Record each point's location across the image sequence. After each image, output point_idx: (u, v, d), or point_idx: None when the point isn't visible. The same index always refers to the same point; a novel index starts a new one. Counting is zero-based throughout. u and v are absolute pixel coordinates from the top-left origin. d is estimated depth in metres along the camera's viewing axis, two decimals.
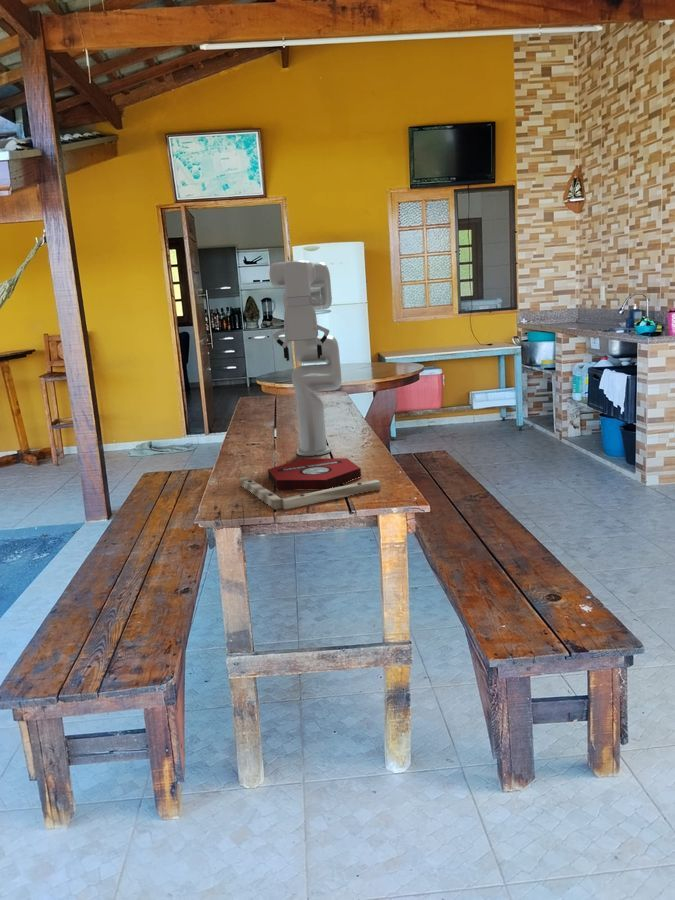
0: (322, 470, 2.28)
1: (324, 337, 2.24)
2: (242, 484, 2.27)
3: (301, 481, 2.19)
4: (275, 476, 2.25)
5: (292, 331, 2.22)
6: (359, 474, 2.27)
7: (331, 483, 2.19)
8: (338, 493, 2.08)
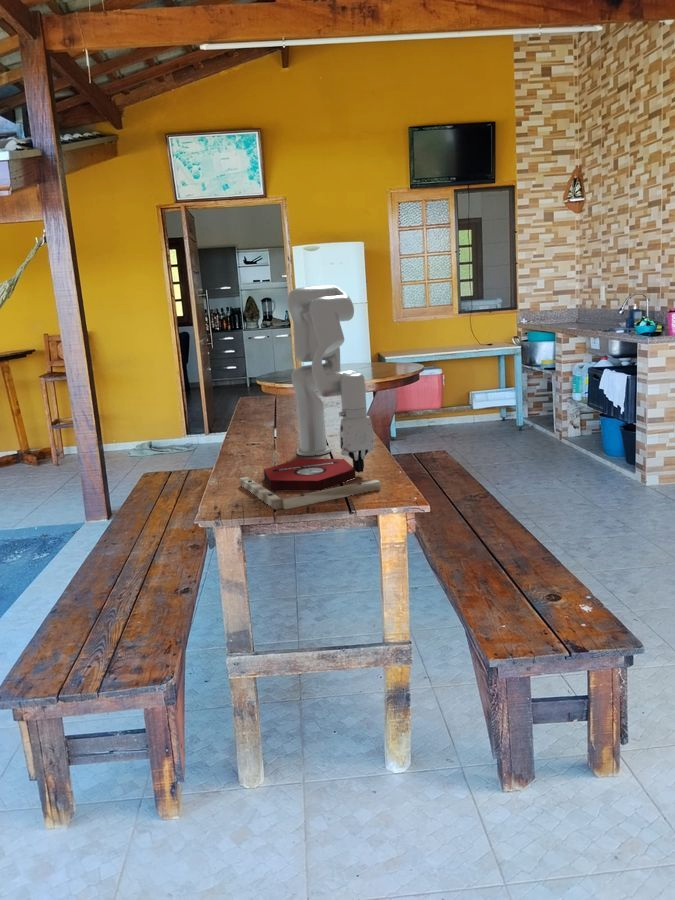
0: (317, 471, 2.28)
1: None
2: (242, 484, 2.27)
3: (294, 481, 2.19)
4: (269, 476, 2.25)
5: None
6: (353, 475, 2.26)
7: (324, 483, 2.18)
8: (338, 493, 2.08)
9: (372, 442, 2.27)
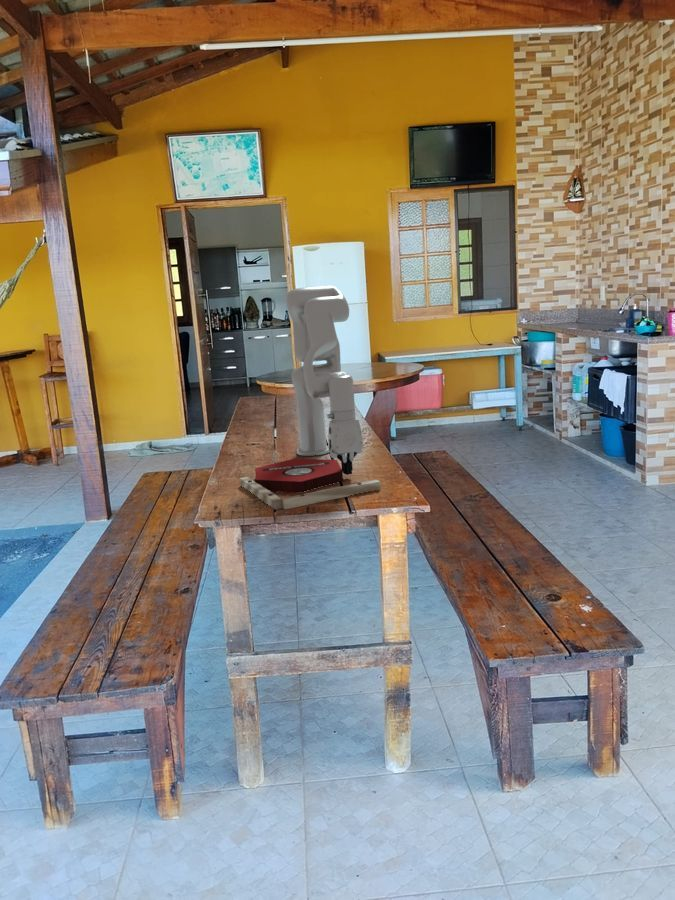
0: (304, 471, 2.27)
1: None
2: (242, 484, 2.27)
3: (278, 482, 2.19)
4: (257, 475, 2.26)
5: None
6: (341, 477, 2.25)
7: (308, 484, 2.18)
8: (338, 493, 2.08)
9: (361, 444, 2.25)
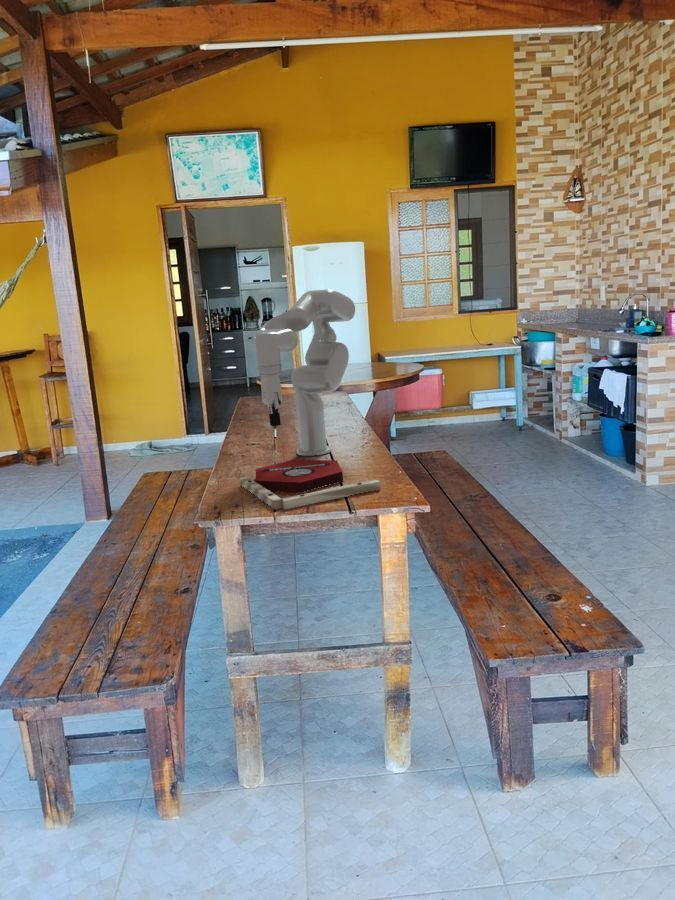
0: (304, 472, 2.27)
1: None
2: (242, 484, 2.27)
3: (278, 482, 2.19)
4: (257, 476, 2.26)
5: None
6: (341, 478, 2.25)
7: (308, 485, 2.18)
8: (338, 493, 2.08)
9: (267, 401, 2.37)
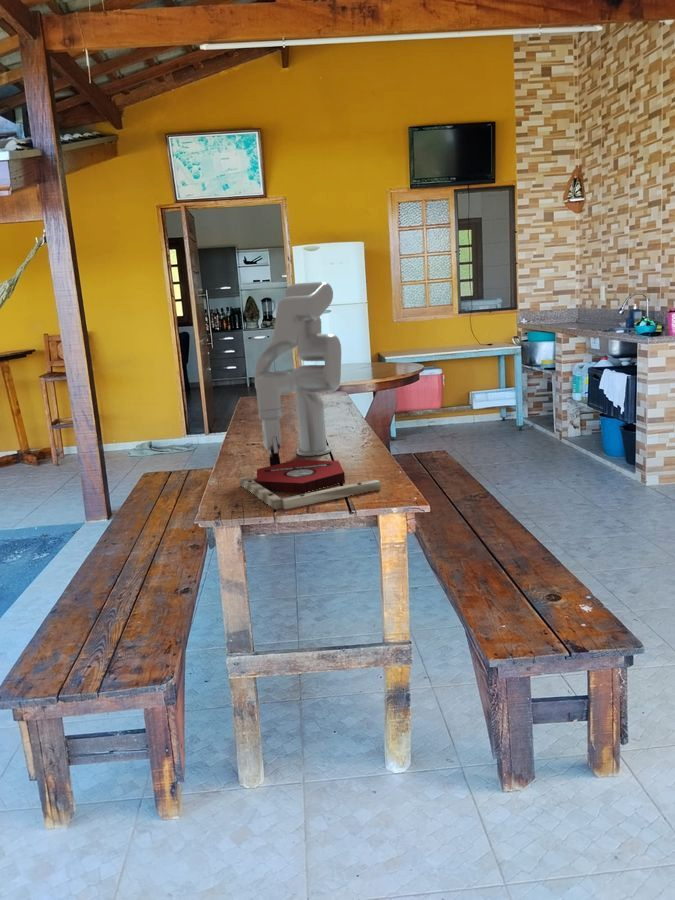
0: (306, 473, 2.26)
1: None
2: (242, 484, 2.27)
3: (280, 483, 2.18)
4: (258, 477, 2.25)
5: None
6: (342, 478, 2.24)
7: (309, 486, 2.17)
8: (338, 493, 2.08)
9: (266, 445, 2.35)
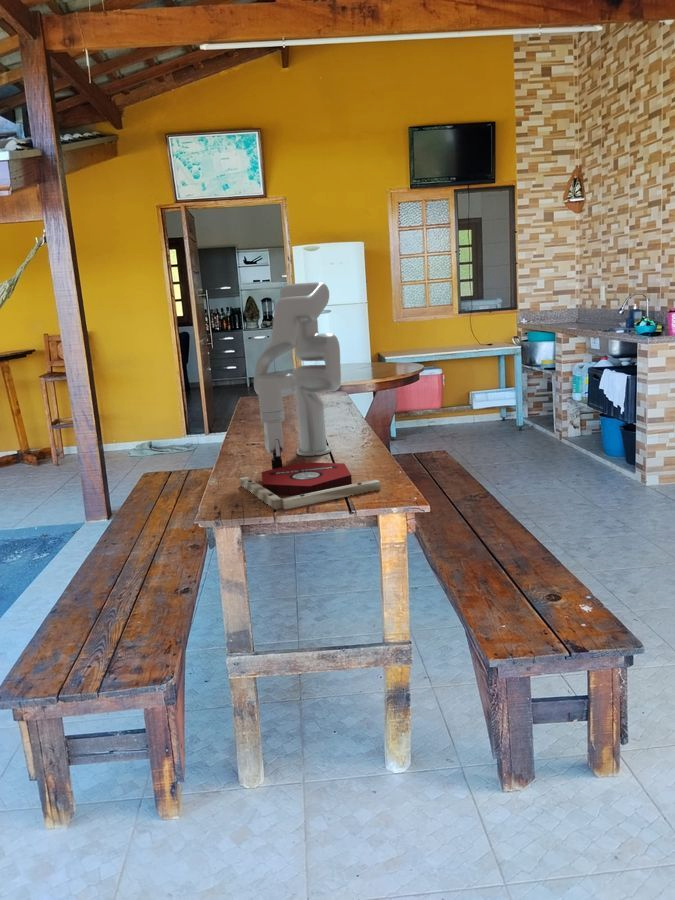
0: (312, 475, 2.22)
1: None
2: (242, 484, 2.27)
3: (286, 486, 2.14)
4: (264, 480, 2.22)
5: None
6: (349, 481, 2.20)
7: (317, 489, 2.13)
8: (338, 493, 2.08)
9: (268, 448, 2.31)
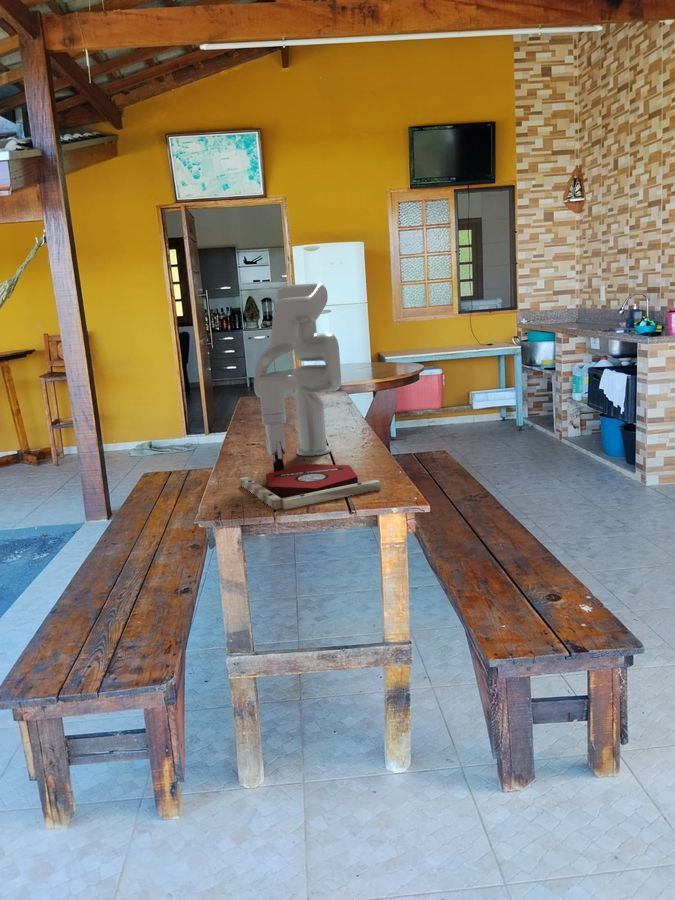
0: (318, 477, 2.20)
1: None
2: (242, 484, 2.27)
3: (292, 488, 2.12)
4: (269, 482, 2.19)
5: None
6: None
7: None
8: (338, 493, 2.08)
9: (270, 450, 2.28)
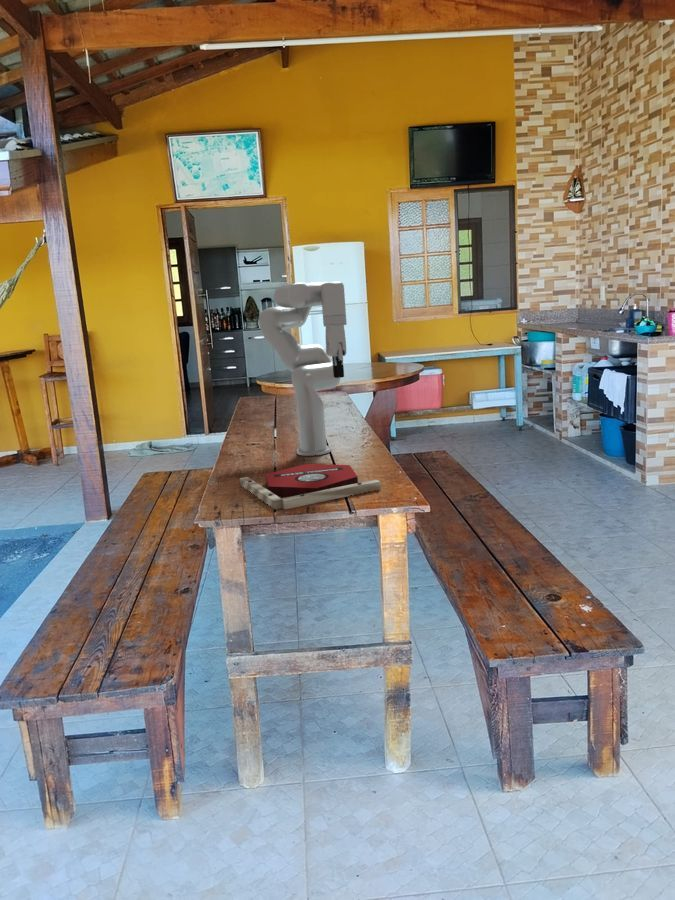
0: (318, 477, 2.20)
1: None
2: (242, 484, 2.27)
3: (292, 488, 2.12)
4: (269, 482, 2.19)
5: None
6: None
7: None
8: (338, 493, 2.08)
9: (331, 351, 2.35)
